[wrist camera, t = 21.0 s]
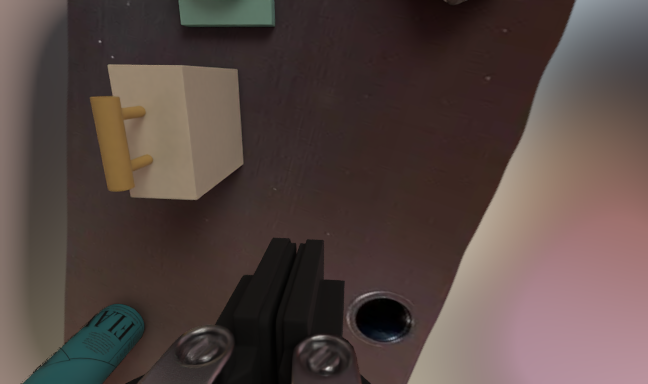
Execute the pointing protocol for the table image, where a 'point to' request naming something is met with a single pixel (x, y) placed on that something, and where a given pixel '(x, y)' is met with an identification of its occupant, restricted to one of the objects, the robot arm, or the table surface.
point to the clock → (169, 129)
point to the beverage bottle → (93, 349)
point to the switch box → (227, 13)
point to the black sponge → (454, 1)
